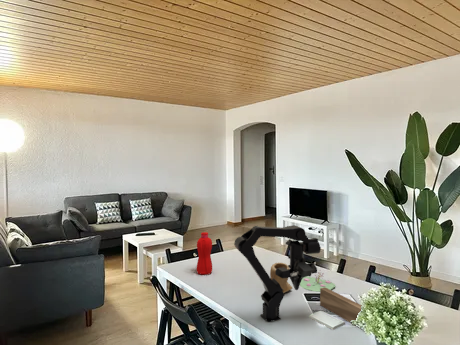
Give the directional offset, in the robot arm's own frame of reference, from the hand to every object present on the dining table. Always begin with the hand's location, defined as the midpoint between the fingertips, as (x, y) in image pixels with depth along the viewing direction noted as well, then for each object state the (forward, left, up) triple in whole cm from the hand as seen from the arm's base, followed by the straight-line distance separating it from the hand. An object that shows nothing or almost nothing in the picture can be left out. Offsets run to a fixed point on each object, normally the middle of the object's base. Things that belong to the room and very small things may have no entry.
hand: (296, 289), depth 134 cm
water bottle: (-17, +68, -11) cm, 71 cm away
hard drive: (+8, -10, -12) cm, 18 cm away
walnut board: (+18, -11, -11) cm, 23 cm away
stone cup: (+8, +23, -11) cm, 27 cm away
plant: (+32, +25, -12) cm, 43 cm away
